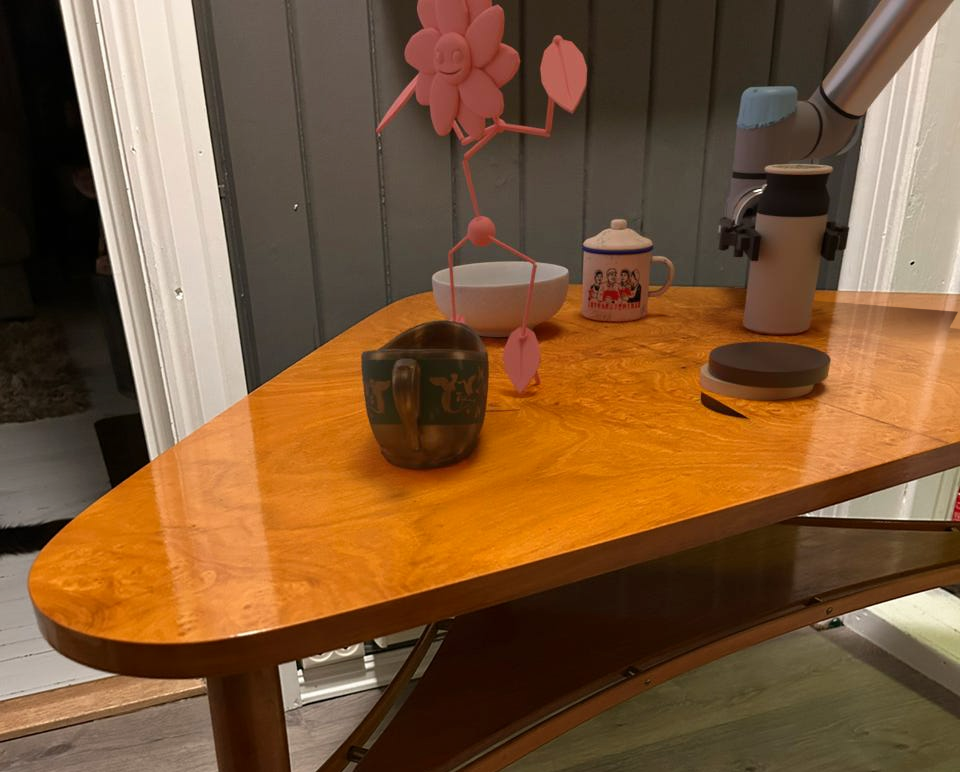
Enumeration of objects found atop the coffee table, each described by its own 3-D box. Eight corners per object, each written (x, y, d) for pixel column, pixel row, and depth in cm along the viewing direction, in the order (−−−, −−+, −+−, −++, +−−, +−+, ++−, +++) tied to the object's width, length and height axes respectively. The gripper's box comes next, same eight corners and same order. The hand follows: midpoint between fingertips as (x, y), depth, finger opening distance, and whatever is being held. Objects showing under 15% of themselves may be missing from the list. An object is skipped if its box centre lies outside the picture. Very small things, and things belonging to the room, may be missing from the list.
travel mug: (800, 338, 111) (827, 170, 102) (734, 332, 115) (754, 168, 106) (815, 324, 117) (841, 164, 108) (752, 318, 121) (772, 163, 111)
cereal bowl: (513, 310, 128) (512, 255, 125) (595, 331, 117) (597, 271, 113) (409, 329, 120) (405, 271, 116) (486, 354, 108) (485, 290, 105)
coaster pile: (779, 381, 96) (785, 336, 94) (846, 413, 87) (855, 364, 85) (678, 392, 94) (682, 347, 91) (736, 427, 84) (742, 377, 82)
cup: (295, 467, 78) (279, 344, 73) (434, 404, 92) (429, 297, 87) (420, 497, 72) (412, 364, 66) (549, 425, 86) (550, 310, 81)
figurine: (425, 355, 108) (406, -11, 90) (608, 395, 94) (629, -35, 75) (323, 385, 99) (279, -18, 81) (509, 434, 84) (506, -47, 66)
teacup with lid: (578, 322, 121) (582, 225, 115) (580, 307, 129) (583, 215, 123) (672, 323, 120) (681, 224, 114) (669, 308, 128) (676, 215, 122)
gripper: (689, 192, 125) (705, 213, 106) (848, 190, 123) (895, 211, 104) (684, 251, 129) (699, 283, 110) (838, 251, 127) (881, 282, 108)
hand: (794, 248), depth 107 cm, fingers closed on travel mug, 8 cm apart
